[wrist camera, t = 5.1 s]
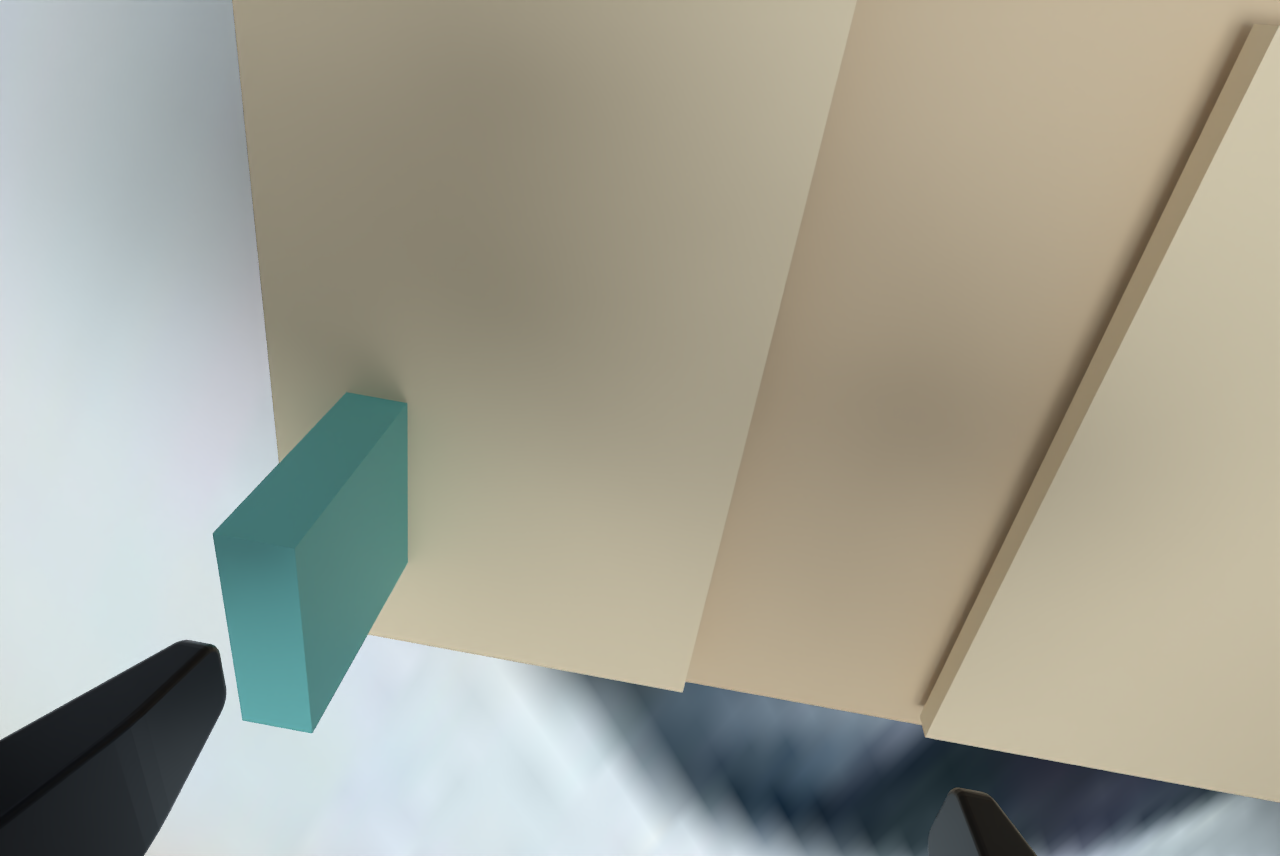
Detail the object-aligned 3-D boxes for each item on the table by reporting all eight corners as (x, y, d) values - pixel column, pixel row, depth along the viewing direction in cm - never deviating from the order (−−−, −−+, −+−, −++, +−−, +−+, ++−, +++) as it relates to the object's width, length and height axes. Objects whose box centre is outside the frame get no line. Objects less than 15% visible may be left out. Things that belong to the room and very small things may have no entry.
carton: (1658, 62, 14) (1948, 87, 11) (1213, 671, 23) (1301, 796, 19) (589, -118, 15) (546, -150, 11) (526, 546, 23) (489, 647, 19)
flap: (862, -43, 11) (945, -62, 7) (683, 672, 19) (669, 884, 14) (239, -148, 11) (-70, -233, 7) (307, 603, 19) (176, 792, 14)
